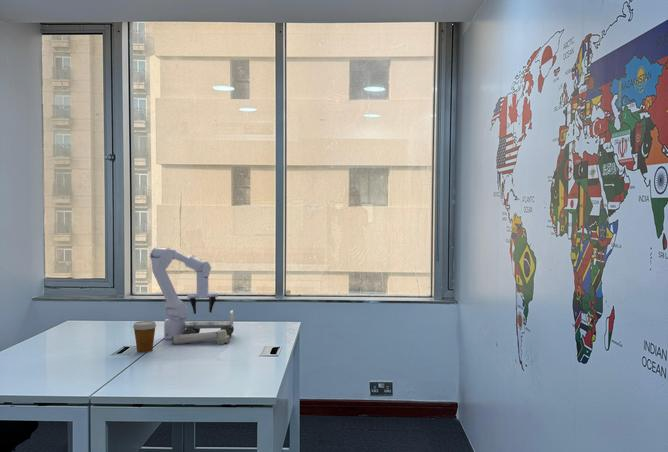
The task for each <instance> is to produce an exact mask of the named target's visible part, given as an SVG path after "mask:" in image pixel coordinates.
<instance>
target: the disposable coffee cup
mask: <svg viewBox="0 0 668 452" xmlns="http://www.w3.org/2000/svg"><path fill="white" fill-rule="evenodd" d="M156 327H157V324H156V321H154V320H140V321H136V322H134V323H133V325H132V328H133V330H134V338H135V339H134V340H135V344H136V352H137V353H149V352H152V351H153V349H154V341H155V333H156Z"/></svg>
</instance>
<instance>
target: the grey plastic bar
mask: <svg viewBox="0 0 668 452" xmlns="http://www.w3.org/2000/svg"><path fill="white" fill-rule="evenodd" d="M207 340H215V342H216V344H218V345H219V344H220V345H224V344H225V343H226V344H227V343H230V339H229V335H227V332H226V330H220V329H219V330H217V331H209V332H208V331H207V332H199V333H196V334H185V335H181V334H180V335H177V336H172V339H171V344H172V345H182V344H183V345H184V344H188V343H194V342H195V343H196V342H200V341H207Z"/></svg>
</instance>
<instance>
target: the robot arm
mask: <svg viewBox="0 0 668 452" xmlns="http://www.w3.org/2000/svg"><path fill="white" fill-rule="evenodd" d="M149 259H150V261H151V270H152V274H153V275H154V278H155V280H156V282H157V284H158V286H159V288H160V290H161V292H162V295H163V296H164V297H163V298H164V299H165V301H166V303H165V304H164V307H165V313H166V316H168V318H166V319H165V320H164V325H163V328H164V329H163V330H164V331H163V335H164V337H163V340H172V336H177V335H180V334H181V335H183V332H184V331H185V330H186V329H183V325H184V324H185V323H186V319H187V317H188V315H189V312H190V311H189V308H188V306H186V304H185V303H184V301H183V300H181V299H180V298H179V296H178V294H177V292H176V290H175V288H174V285H173V283H172V281H171V279H170V277H169V275H168V272H167V269H168V267H169V266H170V264H171V263H172V261H173V260H175V261H177V262H180V263H184V266H185V267H186V268H189V269H191V270H193V271H194V272H195V273H196V293H195V294H187V299H186V300H189V302H190V304H191V307H192V311H193V314H196V315H197V308H196V307H197V306H196V304H197V300H198V299H199V300H200V299H208V304H209V305H208V308H209V309H208V312H209V313H210V314H211V313H213V312H212V311H213V306H214V305H215V302H216V301H217V299H218V293H215V292H213V293H212V292H211V293H209V277H210V272H211V270H212V267H211V264H210V263H209V261H203V259H201V258H197V257H196V255H188V256H187V255H185V254H184V253H181V252H180V251H178V250H176V249H173V248H170V247H167V248H166V247H157V246H155V247H154V248H152V250H151V252H150V254H149Z"/></svg>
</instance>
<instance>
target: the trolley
mask: <svg viewBox="0 0 668 452" xmlns="http://www.w3.org/2000/svg"><path fill="white" fill-rule="evenodd" d="M183 329H185V331H184V332H183V335H185V334H196V333H201V329H204V330H205V329H219V330H226V332H227V335H229V340H230V339H231V338H232V334H233V333H234V330H235V327H234V310H230V311H229V321H190V322H189V321H188V322H187V321H185V324H184V325H183Z"/></svg>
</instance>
